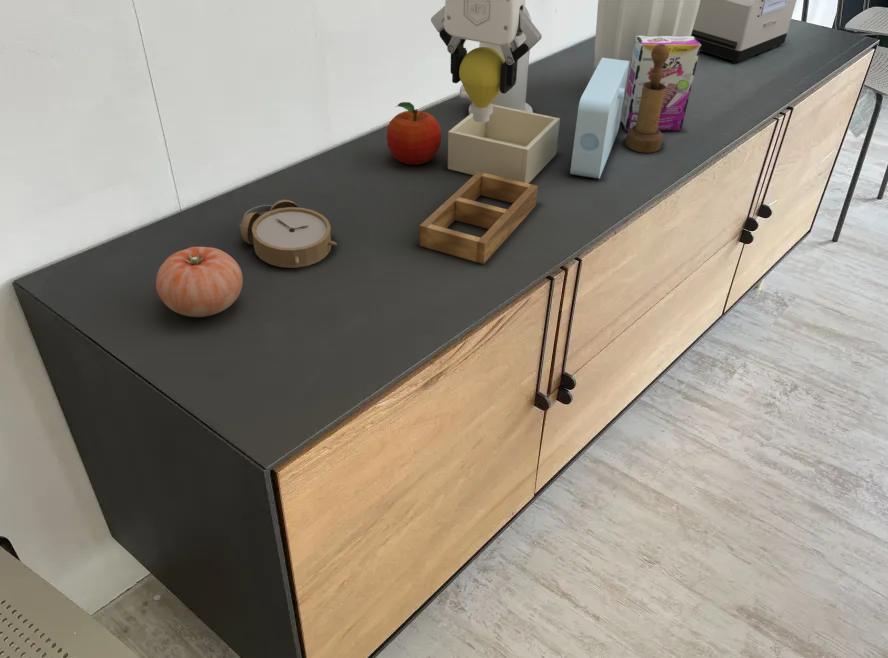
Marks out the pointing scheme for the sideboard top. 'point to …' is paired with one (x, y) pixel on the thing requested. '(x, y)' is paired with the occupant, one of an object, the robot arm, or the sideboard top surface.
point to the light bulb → (481, 80)
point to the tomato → (199, 281)
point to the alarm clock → (287, 234)
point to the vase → (639, 24)
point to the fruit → (413, 136)
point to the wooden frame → (478, 217)
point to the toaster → (741, 26)
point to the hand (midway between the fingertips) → (482, 83)
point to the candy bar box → (674, 78)
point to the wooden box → (504, 144)
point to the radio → (599, 117)
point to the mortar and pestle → (650, 107)
